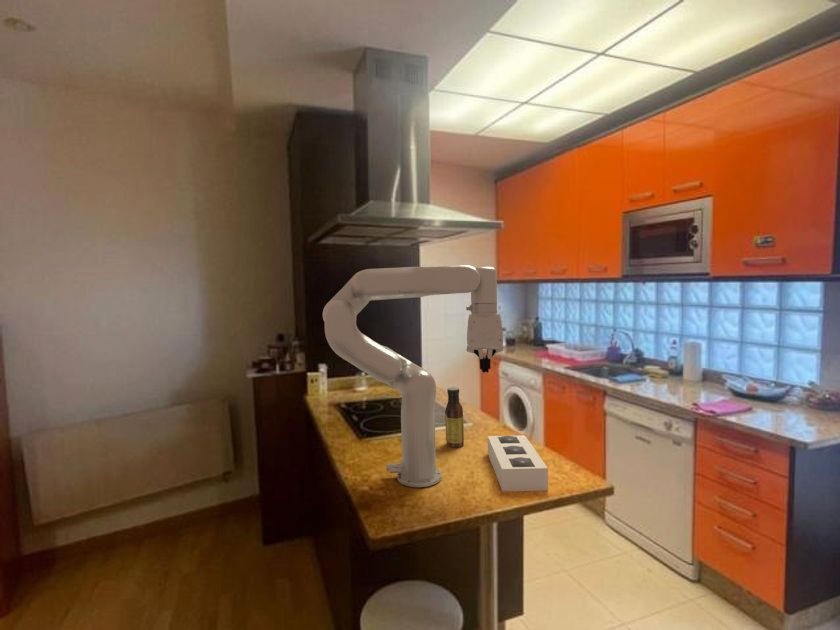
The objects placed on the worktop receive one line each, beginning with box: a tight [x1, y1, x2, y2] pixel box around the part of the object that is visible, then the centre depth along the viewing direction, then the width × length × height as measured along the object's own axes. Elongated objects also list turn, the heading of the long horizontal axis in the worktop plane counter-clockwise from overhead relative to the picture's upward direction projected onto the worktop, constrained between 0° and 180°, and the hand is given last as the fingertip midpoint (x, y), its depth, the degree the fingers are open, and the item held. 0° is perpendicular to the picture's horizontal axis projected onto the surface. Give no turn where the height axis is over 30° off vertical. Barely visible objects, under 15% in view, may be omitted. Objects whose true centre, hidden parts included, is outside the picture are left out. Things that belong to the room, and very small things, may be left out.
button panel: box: [487, 434, 549, 492], centre depth 127 cm, size 12×26×6 cm, turn 179°
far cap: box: [501, 435, 517, 444], centre depth 136 cm, size 5×5×6 cm
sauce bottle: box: [444, 387, 465, 448], centre depth 149 cm, size 7×6×20 cm
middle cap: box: [506, 446, 523, 455], centre depth 127 cm, size 5×5×6 cm
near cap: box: [512, 457, 531, 467], centre depth 118 cm, size 5×5×6 cm
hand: (485, 371), depth 128 cm, fingers closed
